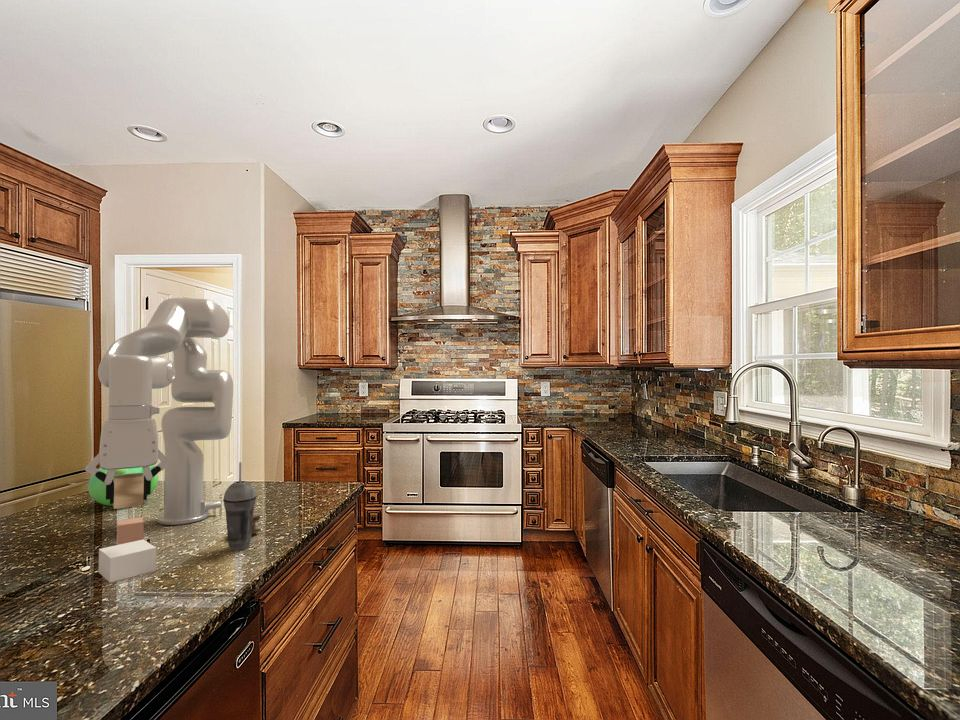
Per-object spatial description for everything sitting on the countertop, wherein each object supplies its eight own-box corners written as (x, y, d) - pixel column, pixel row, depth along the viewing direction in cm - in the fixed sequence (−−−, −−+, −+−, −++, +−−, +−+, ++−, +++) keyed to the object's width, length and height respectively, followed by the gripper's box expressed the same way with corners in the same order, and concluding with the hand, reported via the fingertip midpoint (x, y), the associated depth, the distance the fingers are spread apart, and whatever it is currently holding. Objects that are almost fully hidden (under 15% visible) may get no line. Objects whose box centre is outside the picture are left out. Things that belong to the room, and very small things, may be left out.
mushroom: (272, 520, 131) (257, 501, 131) (248, 541, 124) (233, 521, 124) (258, 530, 135) (243, 511, 135) (234, 550, 128) (219, 531, 128)
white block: (142, 562, 111) (143, 539, 111) (155, 571, 106) (156, 547, 106) (98, 573, 105) (99, 549, 105) (109, 583, 100) (110, 558, 100)
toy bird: (145, 495, 170) (146, 451, 170) (167, 503, 160) (168, 456, 160) (79, 506, 155) (81, 458, 156) (100, 516, 146) (101, 464, 146)
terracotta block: (141, 541, 124) (142, 517, 124) (143, 547, 120) (143, 521, 120) (116, 545, 121) (117, 520, 121) (117, 551, 117) (117, 525, 117)
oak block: (141, 500, 109) (142, 472, 110) (143, 505, 105) (143, 476, 106) (113, 503, 106) (114, 475, 107) (113, 508, 102) (114, 479, 103)
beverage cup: (222, 554, 115) (223, 466, 116) (222, 544, 122) (223, 461, 122) (257, 549, 119) (258, 464, 119) (255, 540, 125) (256, 459, 126)
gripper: (175, 411, 115) (173, 491, 114) (79, 414, 104) (77, 503, 104) (179, 413, 108) (177, 498, 108) (77, 417, 98) (75, 511, 98)
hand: (128, 499), depth 106 cm, fingers closed on oak block, 5 cm apart
